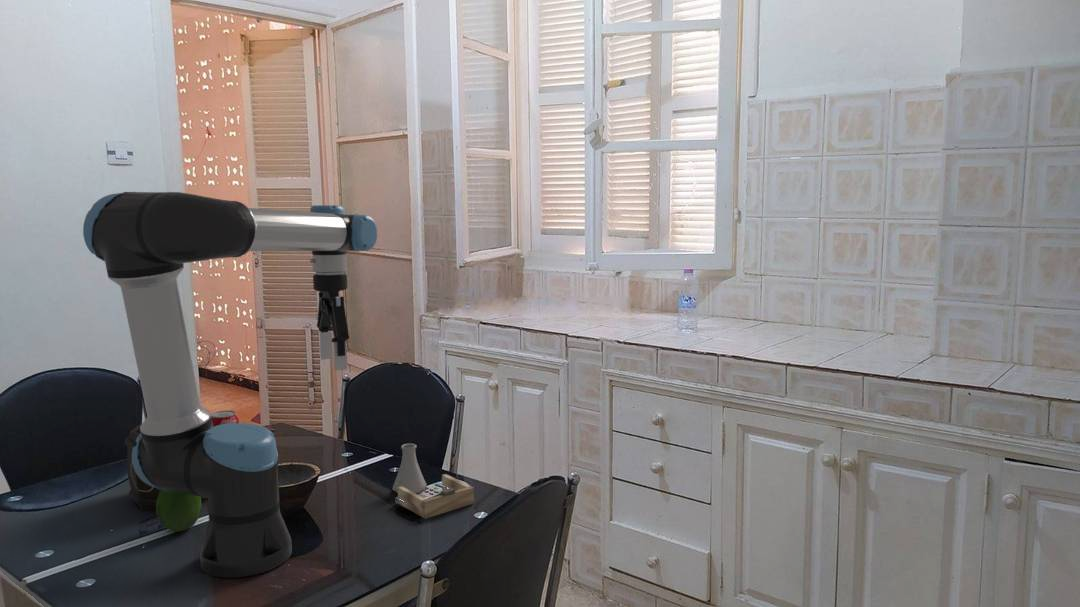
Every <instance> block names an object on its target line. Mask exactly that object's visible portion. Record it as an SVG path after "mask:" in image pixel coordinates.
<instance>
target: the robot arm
mask: <svg viewBox="0 0 1080 607" xmlns="http://www.w3.org/2000/svg"><path fill="white" fill-rule="evenodd" d="M309 210H310V211H301V210H300V211H299V210H284V209H283V210H282V209H272V208H271V209H270V208H269V209H268V208H255V207H254V208H253V207H248V206H247V205H246V204H244V203H243V202H241V201H239V200H238V201H237V200H227V199H220V198H213V197H208V196H205V195H204V196H202V195H198V194H192V193H187V192H182V191H181V192H180V191H167V192H165V191H163V192H161V191H160V192H159V191H158V192H156V191H154V192H152V191H151V192H150V191H148V192H147V191H145V192H144V191H123V192H117V193H111V194H108V195H105V196H102V197H101V198H100V199H98V200H97V201H96V202H94V204H92V206H91V208H90V209H89V210H88V211H87V213H86V214H85V217H84V222H83V224H82V225H83V228H82V229H83V230H82V234H83V239H84V242H85V245H86V247H87V249H88V250H89V252H90V253H91V254H92V255H94V256H95V257H96V258H97V259H99V260H101V261H103V262H104V264H105V268H106V272H107V277H108V279H109V280H110V281H112V282H113V283H115V284H116V285H118V286H119V287H120V289H121V290H120V291H121V293H122V300H123V304H124V309H125V310H124V311H125V314H126V318H127V324H128V328H129V333H130V339H131V343H132V348H133V353H134V358H135V361H136V362H135V363H136V368H137V372H138V373H137V374H138V376H139V381H140V387H141V392H142V396H143V401H144V405H145V411H146V415H147V416H146V418H145V420H143V421H142V423H140V424H141V426H140V431H141V433H140V435H139V436H138V437H137V439H136V443H137V444H136V446H135V447H133V451H132V463H133V467H134V470H135V472H136V474H137V475H138V477H139V478H140V479H141V480H142V481H143V482H144V483H146V484H148V485H150V486H152V487H155V488H157V489H160V490H164V491H167V492H178V493H184V494H189V495H195V496H200V497H205V498H208V500H207V509H208V524H207V528H206V531H205V535H204V538H203V542H202V546H201V549H200V551H199V553H200V554H199V555H200V557H199V558H200V568H201V570H202V571H203V572H204V573H206V574H207V575H209V576H211V577H216V578H217V577H218V578H222V579H225V578H226V579H228V578H229V579H234V578H243V577H250V576H254V575H255V576H256V575H258V574H263V573H265V572H268V571H271V570H273V569H276V568H278V567H279V566H281V565H282V564H284V563H286V562H287V560H288V559H289V558H290V557H291V555H292V553H293V547H292V545H293V544H292V537H291V535H290V533H289V530H288V528H287V525H286V523H285V520H284V518H283V516H282V514H281V510H280V509H281V508H280V486H279V482H280V481H279V452H278V449H277V441H276V438H275V437H276V436H275V434H274V433H273V432H272V431H271V430H270V429H269V428H267V427H265V426H262V425H259V424H255V423H249V422H242V423H241V422H240V423H239V424H238V423H227V424H221V425H218V426H215V427H213V422H212V417H211V414H212V413H211V411H210V410H209V409H208V408H206V407H203V406H202V405H201V403H200V398H199V392H198V388H197V383H196V377H195V373H194V372H195V371H194V365H193V361H192V354H191V350H190V345H189V338H188V335H187V329H186V324H185V318H184V313H183V309H182V308H183V307H182V303H181V297H180V290H179V284H178V281H177V278H178V276H179V275H180V274H181V272H182V271H183V270H184V268H185V265H184V264H186V263H187V264H189V263H195V262H202V261H209V260H215V259H216V260H217V259H227V258H235V259H236V258H240V257H243V256H245V255H246V254H248V253H249V252H311V254H312V258H311V259H310V260H309V263H310V264H312V272H314V273H315V274H313V276H312V279H313V280H312V283H313V290H314V291H315V292H318V309H317V310H318V311H317V322H316V327H317V329H318V331H319V349H320V352H319V353H320V360H321V361H322V360H331V359H333V364H334V365H333V368H334V371H337V372H338V371H343V370H344V371H346V370H348V354H347V353H348V352H347V351H348V348H347V341H348V340H350V335H349V330H348V322H347V315H346V310H345V309H346V308H345V298H344V296H340V291H341V292H342V291H343V292H344V291H346V290H347V289H348V275H347V273H345V272H347V271H348V261H347V258H348V257H347V252H357V253H359V252H366V251H370V250H371V249H373V248H374V247H375V245H376V244H377V239H378V227H377V224H376V222H375V219H374V218H372V217H371V216H370V215H366V214H358V213H356V214H345V209H344V207H343V206H341V205H340V204H339V205H338V204H335V205H333V204H332V205H331V204H330V205H329V204H328V205H327V204H326V205H325V204H324V205H320V204H318V205H312V206H311V207H310V209H309Z"/></svg>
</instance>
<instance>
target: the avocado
mask: <svg viewBox="0 0 1080 607" xmlns="http://www.w3.org/2000/svg"><path fill="white" fill-rule="evenodd" d="M201 509H202V502H201V497H200V496H195V495H189V494H184V493H178V492H167V491H164V490H160V492H159V495H158V498H157V501H156V511H155V514H156V515H157V517H158V519H159V521H160V523H161V525H162V526H163V527H165V528H166V529H167V530H169V531H172V532H178V533H179V532H186V531H187V530H188V529H190V528H191V527H193V526H194V525H195V524H196V522H197V521H198V520H199V517H200V514H201Z"/></svg>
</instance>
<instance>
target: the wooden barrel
mask: <svg viewBox="0 0 1080 607" xmlns="http://www.w3.org/2000/svg"><path fill="white" fill-rule="evenodd" d="M141 424H142V423H140V424H138V425H136V426H135V427H134V428H133V429H131V430H130V431H129V433H128V437H126V438H125V439H124V440H125V441H124V444H125V446H127V448H126V449H127V452H126V464H127V468H126V469H127V478H128V482H129V487H130V490H129V491H128V495H129V498H131V499H132V500H133V501H134V503H135V504H136V505H137V506H138V507H139V508H140V509H142V511H155V512H156V501H157V498H158V495H159V492H160V489H157V488H155V487H152V486H150V485H148V484H146V483H144V482H143V481H142V480H141V479H140V478H139V477H138V475H137V474H136V472H135V470H134V467H133V463H132V451H133V447H135V446H136V444H137V443H136V439H137V437H138V436H139V435H140V433H141V431H140V426H141ZM213 427H214V425H213ZM206 501H208V498H205V497H201V503H203V502H206Z"/></svg>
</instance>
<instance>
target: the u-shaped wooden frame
mask: <svg viewBox="0 0 1080 607" xmlns="http://www.w3.org/2000/svg"><path fill="white" fill-rule="evenodd" d="M442 485H443V486H445V487H448V488H449V489H447V488H445V487H443V486H442ZM474 488H475V487H474V486H472V485H470V484H467V483H465V482H464V481H461V480H459V479H457V478H455V477H453V476H451V475H449V474H447V473H444V474H442V475H441V489H442V490H441V494H440V495H436V496H433V497H429V498H424V497H422V496H421V495H419V494H418V493H414V492H412V491H410V490H408V489H406V488H404V487H403V486H401V487H398V493H397V503H398V504H399V505H400V506H402V507H404V508H405V509H408V510H409V511H411V512H413V513H414V514H416V515H418V516H419V517H422V519H424V520H425V519H426V520H427V519H429V518H432V517H436V516H439V515H441V514H445V513H448V512H451V511H455V510H457V509H461V508H464V507H467V506H469V505H473V504H475V492H474V491H475V490H474ZM398 498H399V499H401V500H403V501H404V502H403V501H401V500H399V499H398ZM406 503H407V504H406Z"/></svg>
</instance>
